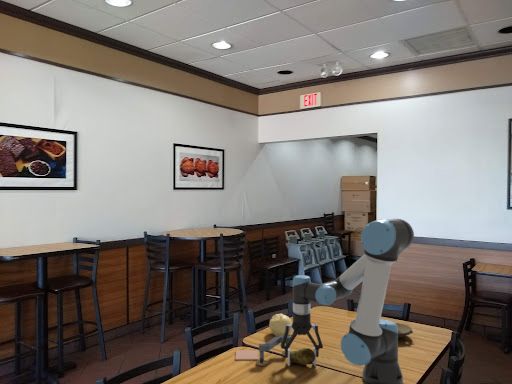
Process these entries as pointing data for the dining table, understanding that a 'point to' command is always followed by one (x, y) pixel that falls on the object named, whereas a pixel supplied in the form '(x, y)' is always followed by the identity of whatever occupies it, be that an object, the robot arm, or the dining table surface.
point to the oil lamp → (403, 330)
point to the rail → (267, 347)
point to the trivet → (246, 355)
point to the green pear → (302, 356)
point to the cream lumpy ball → (279, 324)
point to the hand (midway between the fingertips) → (301, 364)
